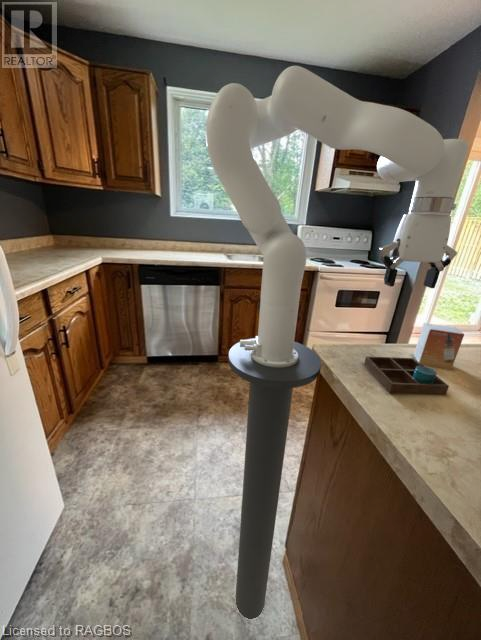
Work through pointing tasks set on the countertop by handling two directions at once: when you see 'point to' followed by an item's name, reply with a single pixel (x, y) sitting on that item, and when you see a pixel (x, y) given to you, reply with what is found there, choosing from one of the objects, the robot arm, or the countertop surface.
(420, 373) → the teal cylinder
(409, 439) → the countertop surface
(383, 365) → the grid
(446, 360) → the small box
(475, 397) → the countertop surface
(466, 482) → the countertop surface
